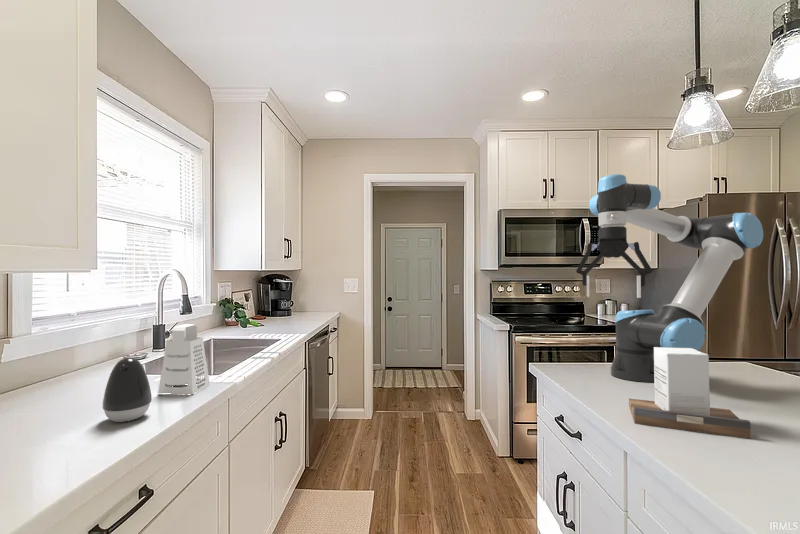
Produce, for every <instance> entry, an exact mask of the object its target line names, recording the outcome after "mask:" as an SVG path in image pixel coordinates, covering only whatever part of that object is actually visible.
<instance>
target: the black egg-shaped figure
mask: <svg viewBox="0 0 800 534" xmlns="http://www.w3.org/2000/svg"><path fill="white" fill-rule="evenodd" d="M151 391H152V390H151V386H150V382H149V378H148V376H147V373H146V370H145V368H144V366H143V364H142V363H141V361H139V360H138V359H137V358H135V357H125V358H122V359H120V360H119V361H118V362H117V363H116V364H115V365H114V367H113V368H112V370H111V371H110V374H109V376H108V379H107V382H106V386H105V389H104V394H103V398H102V406H101V407H102V410H103V411H104V413H105V416H106V418H107V419H108V420H110V421H112V422H115V423H124V422H123V421H128V422H131V421H130V420H133V421H135V420H134V419H136V420H138V419H140V418H141V417H142V416H144V415H145V414H146V413H147V411H148V410H149V408H150V405H151V403H152V392H151ZM139 417H140V418H139ZM137 418H138V419H137Z"/></svg>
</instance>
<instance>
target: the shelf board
mask: <svg viewBox="0 0 800 534" xmlns="http://www.w3.org/2000/svg"><path fill="white" fill-rule="evenodd" d="M628 407H629V411H630V413H631V416H632V419H633V422H634V424H637V425H646V426H653V427H658V426H659V427H661V428H667V429H674V428H675V430H681V429H685V430H684V431H689V430H692V431H691V432H696V431H700V432H699V433H704V432H706V433H705V434H711V433H714V434H713V435H719V434H721V435H720V436H726V435H728V436H727V437H734V436H735V437H736V438H744V439H751V421H750V420H748V419H743V418H741V419H740V418H739V417H738V416H737V415H736V414H735V413H734V412H733V411H731V409H727V408H717V407H712V406H710V416H708V415H699V414H691V413H682V412H674V411H665V410H662V409H661V408H659V407H658V406H657V405H656V404H655V400H647V399H637V398H636V399H635V398H630V397H629V398H628ZM735 437H734V438H735Z"/></svg>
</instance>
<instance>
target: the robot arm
mask: <svg viewBox="0 0 800 534" xmlns="http://www.w3.org/2000/svg"><path fill="white" fill-rule="evenodd" d="M597 185H598V186H597V187H598V188H597V194H595V195H593V196H592V197H591V199H590V200H589V203H588V209H589V210H590V211H589V212H590V213H591V214H592V215H594V216H597V217H598V218H597V219H598V226H599V228H598V243H596V244H595V243H590V242H589V243H588V244H587V249H586V252H585V253H584V256H583V258H582V259H581V261H580V262H579V265H578V267H576V271H575V272H576V274H579V275H581V276H582V286H583V287H584V286H586V297H587V298H590V297H591V296H590V275H588V274H589V272H590V271H591V270H592V269H593V268H594V267H595V266H596V265H597V263H598V262H600V261H601V259H602V258H603V257H604V258H608V259H609V258H615V259H616V258H621V257H622V258H623V259H624V260H625V261H626V262H627V263H628V264H629V265H630V266H631V267H632V268H633V269H634V270H635V271H636V272H637V273H638V274H639V275H636V298H637V299H641V298H642V289H641V287H645V285H646V275H648V274H652V273H653V269H652V268H651V266H650V264H649V263H648V261H647V259H646V258H645V256H644V254H643V253H642V251H641V249H640V243H639V242H638V241H635V242H630V243H628V241H627V237H628V236H627V235H628V234H627V233H628V232H627V227H626V225H627V223H628V224H632V225H634V226H636V227H639V228H642V229H645V230H647V231H651V232H653V233H655V234H659V235H660V236H661V235H663V236H665V237H666V238H667V239H668V241H670V242H672V243H675V244H678V245H681V246H684V247H687V248H691V249H694V250H695V249H696V250H700V251H702V252H701V253H700V255H699V256H698V259H697V260H696V262H695V263H694V265H693V266H692V268H691V270H690V272H689V273H688V275H687V277H686V278H685V279H684V282H683V284H682V285H681V287H680V288H679V289H678V292H677V293H676V295H675V296H674V298H673V300H672V301H671V303H668V304H664V305H663V306H662V307H661V309H660V311H659V312H658V314H656V313H655V311H654V310H653V309H638V310H637V309H633V310H620V311H619V310H618V312H617V313H616V316H615V322H614V323H615V355H614V357H613V361H612V363H611V366H610V376H613V377H615V378H617V379H621V380H625V381H626V380H627V381H632V382H643V383H644V382H645V383H651V382H652V383H653V382H654V347H665V348H692V349H695V350H697V351H700V349H701V348H702V347H703V344H704V342H705V340H706V337H705V336H704V335H706V330H705V327H704V321H703V319H702V314H703V313H704V311H705V310H706V308H707V307H708V305H709V303H710V301H711V299H712V298H713V296H714V294H715V293H716V291H717V289H718V288H719V286H720V285H721V282H722V281H723V279H724V278H725V276H726V274H727V273H728V270H729V268H730V267H731V265H732V263H733V262H734V261H737V260H740V259H742V257H743V256H744V254H745V252H746V251H747V250H748V249H750V250H751V249H755V248H757V247H759V246H760V245H761V243H762V242H763V239H764V229H763V225H762V222H761V220H759V218H758V217H757V216H756V215H755V214H754V213H750V212H734V213H731V214H721V215H715V216H704V217H697V218H696V217H687V216H686V215H679V216H677V215H675V214H671V213H668V212H665V211H663V210H660V209H658V208H656V207H657V206H658V205H659V203H660V201H661V198H662V195H661V193H662V192H661V190H660V188H658V186H656V185H651V184H648V183H645V184H641V183H629V182H628V181H627V177H626V175H624V174H620V173H619V174H617V173H616V174H607V175H604V176H602V177H600V178H599V180H598V184H597ZM628 248H630V249H631V250H632V251H634V253H635V255H636V257H637V258H638V260H639V262H640V263H641V265H642V266H643V268H644V270H643V269H642V268H641V267H640V266H639V265H638V264H637V263H636V262H635V261H634V259H633V258H632V257H630V256H629V254H627V252H626V251H627V250H628ZM595 249H597V250H598V252H600V253H599V254H598V255H597V256H596V257H595V259H593V260H592V262H591V263H590V264H589V265H588V266H587V267H586V268H585V269H584V270H583V268H584V266H585V264H586V262H587V260H588V258H589V256H590V255H591V253H592V252H594V251H595Z"/></svg>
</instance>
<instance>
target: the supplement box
mask: <svg viewBox="0 0 800 534" xmlns="http://www.w3.org/2000/svg"><path fill="white" fill-rule="evenodd" d="M709 359H710V357H709V354H708V353H704V352H702V351H700V350H698V351H697V350H695V349H692V348H665V347H654V383H653V384H654V401H655V404H656V405H657V406H658V407H659V408H661V409H662V410H665V411H674V412H682V413H691V414H699V415H708V416H710V407H711V404H710V403H711V401H710V400H711V399H710V398H711V397H710V396H711V395H710V364H709V363H710V362H709V361H710V360H709Z"/></svg>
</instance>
